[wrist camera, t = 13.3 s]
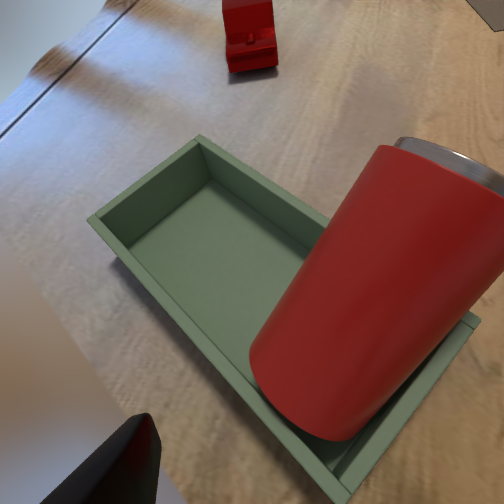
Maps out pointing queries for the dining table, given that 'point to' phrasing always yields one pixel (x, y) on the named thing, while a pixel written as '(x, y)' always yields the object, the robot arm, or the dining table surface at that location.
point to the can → (381, 286)
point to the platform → (490, 12)
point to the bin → (246, 288)
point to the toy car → (249, 34)
